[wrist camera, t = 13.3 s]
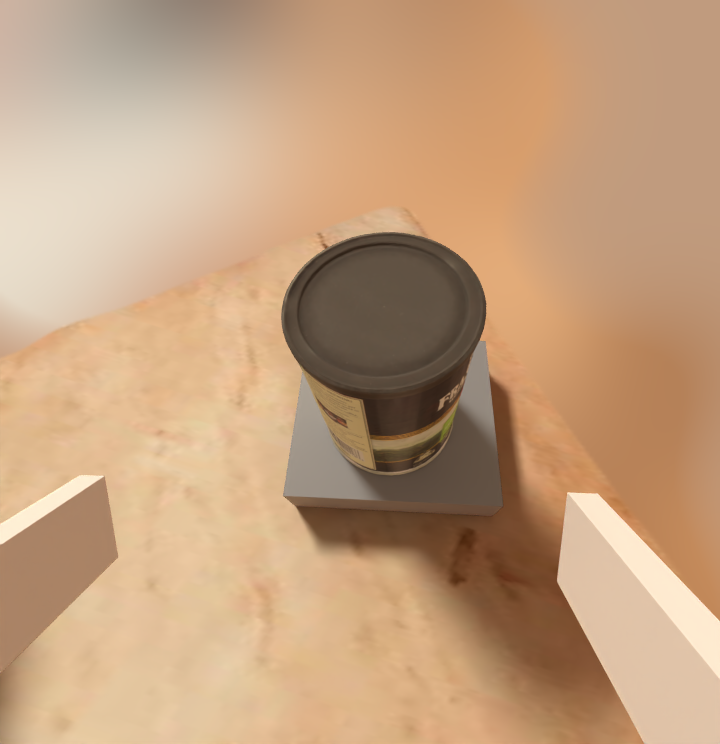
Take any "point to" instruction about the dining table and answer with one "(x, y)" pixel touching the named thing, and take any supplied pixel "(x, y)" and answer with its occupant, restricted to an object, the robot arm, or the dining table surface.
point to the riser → (410, 490)
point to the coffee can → (385, 344)
